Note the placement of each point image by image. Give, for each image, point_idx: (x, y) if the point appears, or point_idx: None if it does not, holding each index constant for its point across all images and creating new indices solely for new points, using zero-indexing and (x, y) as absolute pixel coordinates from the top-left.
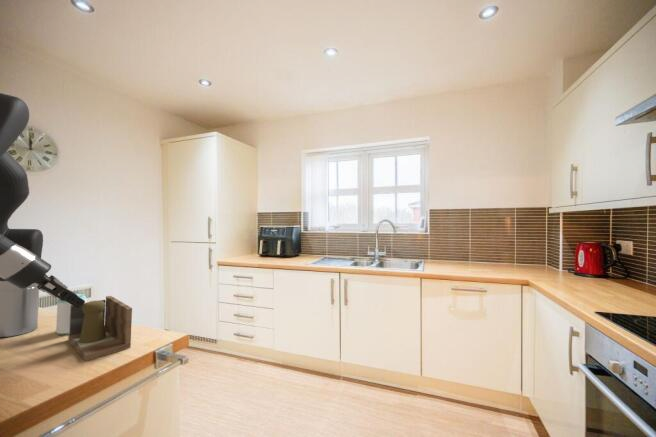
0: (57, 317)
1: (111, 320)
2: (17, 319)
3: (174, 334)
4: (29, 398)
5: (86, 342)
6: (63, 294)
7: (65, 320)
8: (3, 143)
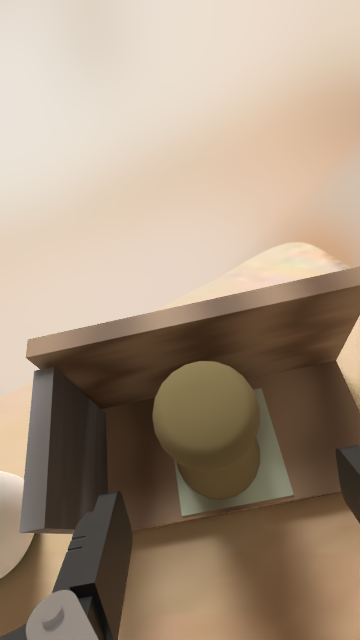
0: None
1: (160, 377)
2: None
3: (277, 252)
4: None
5: (256, 474)
6: (116, 602)
7: None
8: None
